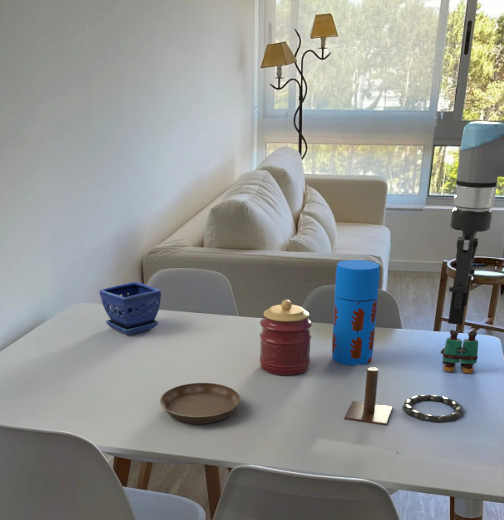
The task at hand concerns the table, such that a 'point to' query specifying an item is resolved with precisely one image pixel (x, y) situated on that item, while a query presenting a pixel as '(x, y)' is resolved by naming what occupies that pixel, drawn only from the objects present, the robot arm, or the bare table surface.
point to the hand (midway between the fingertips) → (457, 314)
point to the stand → (369, 404)
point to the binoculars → (460, 352)
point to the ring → (430, 418)
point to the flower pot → (131, 307)
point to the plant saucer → (200, 402)
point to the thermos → (355, 311)
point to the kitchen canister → (285, 339)
